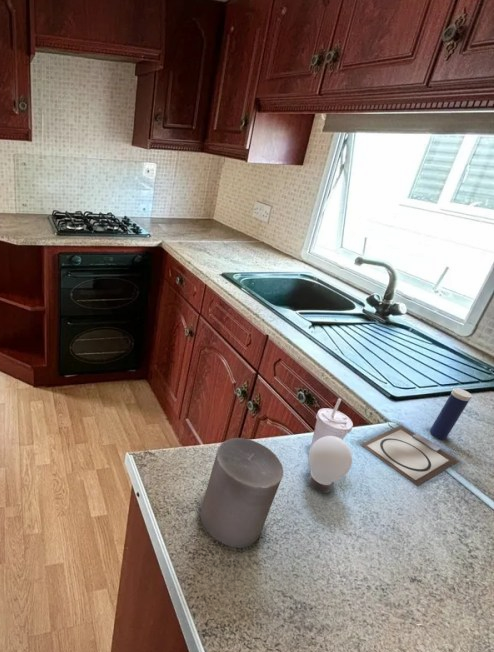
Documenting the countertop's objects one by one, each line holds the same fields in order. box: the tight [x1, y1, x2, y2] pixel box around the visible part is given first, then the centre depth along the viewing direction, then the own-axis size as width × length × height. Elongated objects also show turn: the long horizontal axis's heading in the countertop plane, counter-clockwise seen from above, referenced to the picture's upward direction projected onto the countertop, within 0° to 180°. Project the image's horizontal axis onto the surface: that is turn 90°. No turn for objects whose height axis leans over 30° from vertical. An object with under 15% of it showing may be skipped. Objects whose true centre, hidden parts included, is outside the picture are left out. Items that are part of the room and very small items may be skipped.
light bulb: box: [307, 436, 353, 494], centre depth 72 cm, size 7×7×11 cm
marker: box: [429, 387, 473, 440], centre depth 89 cm, size 3×3×12 cm
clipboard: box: [359, 424, 460, 487], centre depth 85 cm, size 12×16×1 cm
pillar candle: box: [199, 437, 284, 549], centre depth 62 cm, size 10×10×15 cm
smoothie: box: [309, 398, 354, 450], centre depth 79 cm, size 6×6×14 cm
